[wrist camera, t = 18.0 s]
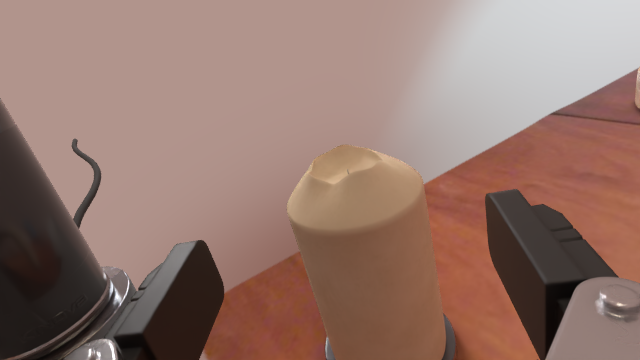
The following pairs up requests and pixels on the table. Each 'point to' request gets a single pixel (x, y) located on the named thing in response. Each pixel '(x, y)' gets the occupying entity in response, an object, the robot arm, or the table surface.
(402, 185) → the candle
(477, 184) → the table surface
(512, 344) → the table surface
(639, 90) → the bowl
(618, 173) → the table surface
